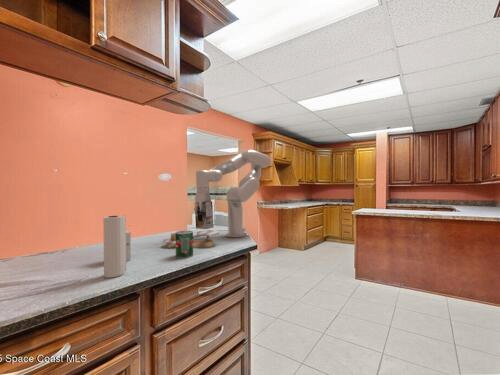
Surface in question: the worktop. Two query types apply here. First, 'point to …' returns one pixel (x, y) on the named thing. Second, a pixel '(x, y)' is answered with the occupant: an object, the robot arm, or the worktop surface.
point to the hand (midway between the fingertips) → (204, 220)
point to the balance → (196, 243)
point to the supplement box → (128, 246)
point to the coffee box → (205, 216)
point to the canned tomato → (184, 244)
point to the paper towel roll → (114, 246)
